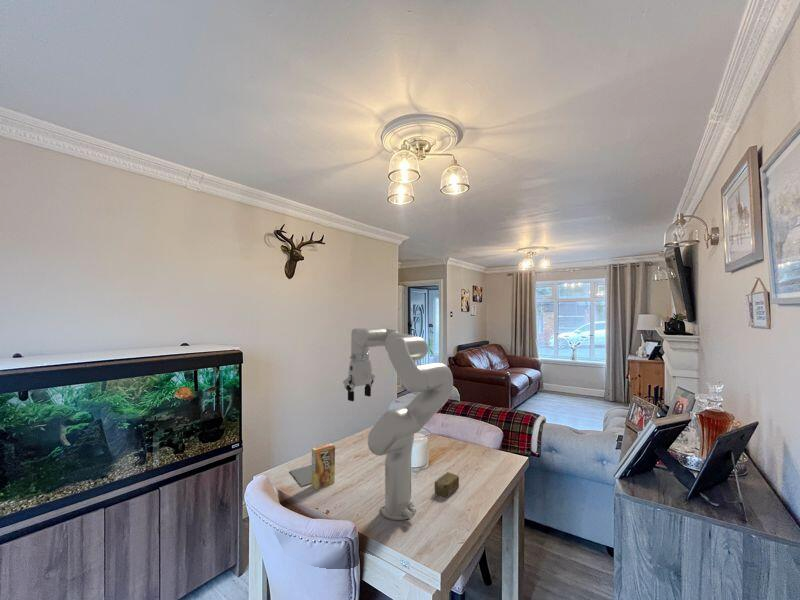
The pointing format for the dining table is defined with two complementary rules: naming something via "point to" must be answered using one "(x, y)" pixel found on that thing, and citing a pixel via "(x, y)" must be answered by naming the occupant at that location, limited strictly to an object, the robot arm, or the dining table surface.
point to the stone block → (446, 484)
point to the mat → (303, 475)
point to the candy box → (323, 465)
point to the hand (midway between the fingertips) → (359, 398)
